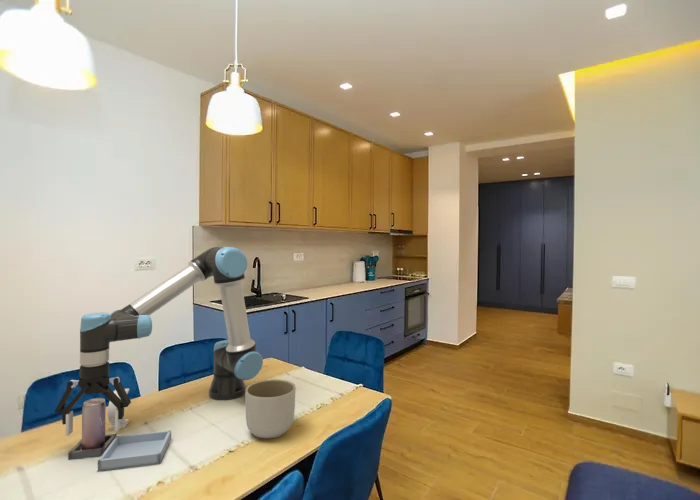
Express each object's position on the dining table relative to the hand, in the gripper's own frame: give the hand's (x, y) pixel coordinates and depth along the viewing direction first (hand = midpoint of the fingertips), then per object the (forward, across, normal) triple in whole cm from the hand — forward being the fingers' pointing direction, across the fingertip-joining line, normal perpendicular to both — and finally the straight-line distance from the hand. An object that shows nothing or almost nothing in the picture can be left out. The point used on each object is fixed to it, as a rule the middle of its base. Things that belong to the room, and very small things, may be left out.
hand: (93, 431), depth 112 cm
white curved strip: (+6, -2, -15) cm, 16 cm away
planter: (+6, -54, +1) cm, 54 cm away
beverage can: (+6, 0, 0) cm, 6 cm away
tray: (+6, -14, +6) cm, 16 cm away
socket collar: (+6, 0, 0) cm, 6 cm away
